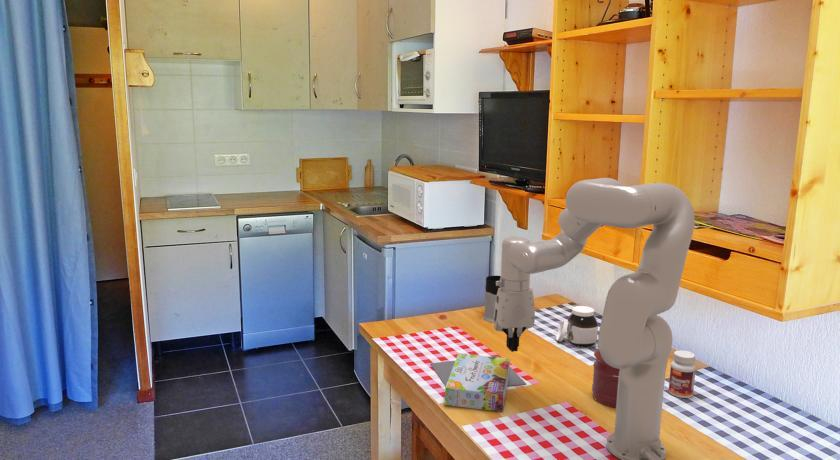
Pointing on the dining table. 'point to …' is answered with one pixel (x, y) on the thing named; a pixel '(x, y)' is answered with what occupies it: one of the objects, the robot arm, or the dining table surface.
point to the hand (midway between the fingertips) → (512, 349)
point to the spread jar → (580, 327)
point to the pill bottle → (682, 374)
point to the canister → (604, 381)
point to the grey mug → (490, 297)
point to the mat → (446, 367)
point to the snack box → (478, 382)
